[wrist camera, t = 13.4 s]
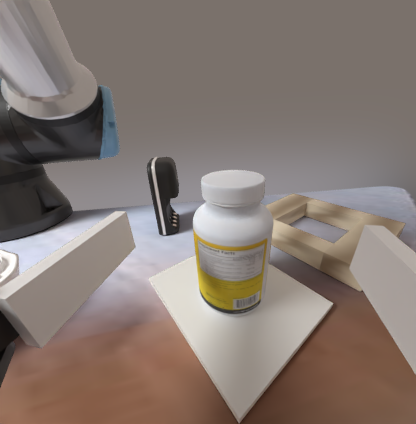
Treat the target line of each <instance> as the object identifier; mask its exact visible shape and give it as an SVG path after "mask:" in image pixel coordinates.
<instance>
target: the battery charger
mask: <svg viewBox="0 0 416 424" xmlns="http://www.w3.org/2000/svg"><path fill="white" fill-rule="evenodd" d="M147 172H148V179H149V184H150V189H151V195H152V200H153V204H154V209H155V214H156V219H157V224H158V229H159V234H160V235H166V234H172V233H176V232H177V231H178V230H179V215H178V214H177V213H176V212H175V211H174V210H173V209H172V207H171V205H170V198H176V197H177V196H178V193H179V188H178V187H179V183H178V176H177V170H176V165H175V162H174V160H173V159H172V158H170V157H162V158H158V157H155V158H152V159H151V160H150V161H149V163H148V165H147Z"/></svg>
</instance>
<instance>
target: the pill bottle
mask: <svg viewBox="0 0 416 424" xmlns="http://www.w3.org/2000/svg"><path fill="white" fill-rule="evenodd" d="M201 189H202V197H203V199H204V200H205V201H206V202H205V203H204V204H202V205H201V206H200V207H199V208H198V209H197V211H196V212H195V214H194V217H193V232H194V242H195V252H196V263H197V273H198V282H199V290H200V294H201V297H202V299H203V300H204V302H205V303H206V304H207V305H208V306H209V307H210V308H211V309H212V310H214V311H216V312H218V313H220V314H223V315H228V316H240V315H244V314H247V313H250V312H252V311H253V310H255V309H256V308H257V307H258V306H259V305H260V304H261V302H262V300H263V298H264V295H265V288H266V280H267V272H268V265H269V257H270V249H271V241H272V233H273V217H272V214H271V212H270V211H269V210H268V208H267V207H266V206H265V205H263V204H262V203H260V201H261V200H262V199H263V197H264V193H265V178H264V177H263V176H262V175H261V174H258V173H255V172H251V171H244V170H226V171H217V172H213V173H209V174H207V175H205V176H203V177H202V179H201Z"/></svg>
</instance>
